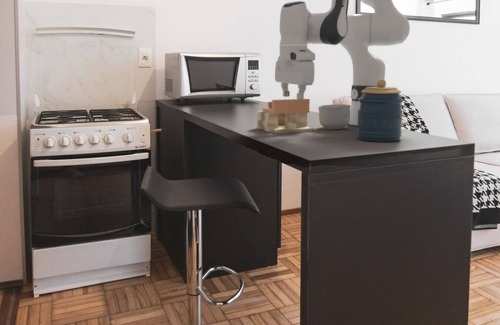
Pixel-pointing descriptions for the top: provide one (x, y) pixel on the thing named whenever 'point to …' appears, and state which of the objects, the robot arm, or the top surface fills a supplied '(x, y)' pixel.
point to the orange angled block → (289, 106)
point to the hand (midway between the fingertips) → (293, 97)
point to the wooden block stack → (282, 122)
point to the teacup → (334, 116)
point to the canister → (380, 114)
